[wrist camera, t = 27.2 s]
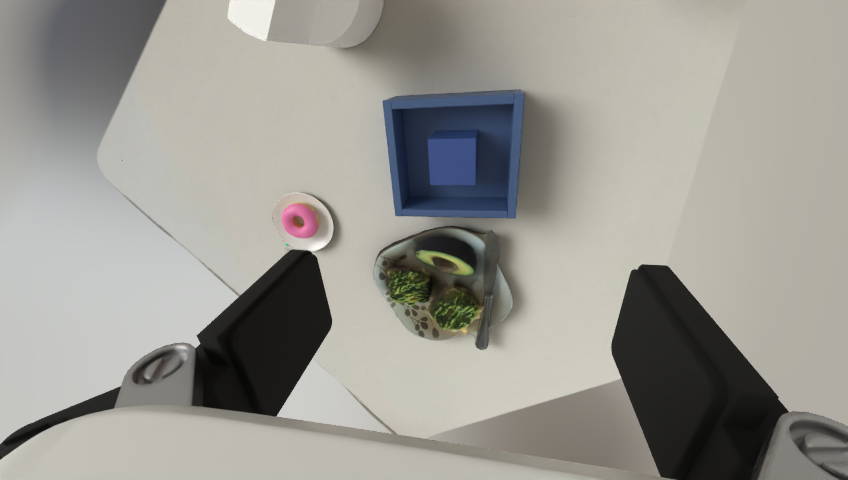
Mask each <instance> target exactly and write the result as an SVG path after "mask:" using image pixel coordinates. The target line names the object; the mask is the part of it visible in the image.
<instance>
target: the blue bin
mask: <svg viewBox="0 0 848 480" xmlns="http://www.w3.org/2000/svg"><path fill="white" fill-rule="evenodd" d="M383 108H384V117H385V126H386V135H387V144H388V153H389V162H390V171H391V180H392V189H393V198H394V207H395V216H426V217H477V218H516V205H517V191H518V177H519V163H520V149H521V135H522V121H523V108H524V93H523V92H522V91H521V90H502V91H483V92H464V93H446V94H427V95H408V96H395V97H392V98H390V99H387V100H384V101H383ZM447 130H478V174H477V180H476V185H430V172H429V154H428V139H429V138H430V137H431V135H432V134H433V133H434V132H435V131H447Z"/></svg>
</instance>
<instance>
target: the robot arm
mask: <svg viewBox="0 0 848 480" xmlns="http://www.w3.org/2000/svg"><path fill="white" fill-rule="evenodd" d="M331 326H332V317H331V313H330V309H329V305H328V301H327V297H326V293H325V289H324V284H323V280H322V276H321V272H320V268H319V264H318V260H317V257H316V256H315V255H313V254H312V253H311V251H309V250H290V251H289V252H288V253H287V254H285V255H284V256H283V257H282V258H281V259H280V260H279V261H278V262H277V263H276V264H275V265H273V266H272V267H271V268H270V269H269V270H268V271H267V272H266V273H265V274H264V275H263V276H261V277H260V278H259V279H258V280H257V281H256V282H255V283H254V284H253V285H252V286H250V287H249V288H248V289H247V290H246V291H245V292H244V293H243V294H242V295H241V296H240V297H238V298H237V299H236V300H235V301H234V302H233V303H232V304H231V305H230V306H229V307H228V308H226V309H225V310H224V311H223V312H222V313H221V314H220V315H219V316H218V317H217V318H215V319H214V320H213V321H212V322H211V323H210V324H209V325H208V326H207V327H206V328H205V329H203V331H201V332H200V333H199V334H198V335H197V337H198V339H199V341H200V343H201V344H200V345H199V346H198V347H197V348H194V347H193V346H192V345H191V344H188V343H174V344H171V345H166V346H163V347H161V348H159V349H156V350H154V351H152V352H151V353H149V354H147V355H145V356H144V357H142V358H141V359H140V360H139V361H137V362H136V363H135V364H134V365H133V366H132V367H131V368H130V369H129V370H128V371H127V373H126V375H125V377H124V379H123V382H122V386H121V387H118V388H116V389H113V390H111V391H108V392H106V393H104V394H101V395H98V396H96V397H94V398H91V399H89V400H86V401H84V402H82V403H79V404H76V405H74V406H71V407H69V408H67V409H64V410H62V411H59V412H57V413H55V414H52V415H50V416H47V417H45V418H42V419H40V420H38V421H36V422H34V423H31V424H28V425H26V426H24V427H22V428H20V429H19V430H17V431H15V432H14V433H12V434H11V435H10V436H9V437H7V438H6V439H5V440H4V441H3V442H2V443H1V444H0V480H848V427H847V426H845V425H844V424H842V423H839V422H836V421H834V420H832V419H829V418H826V417H824V416H820V415H816V414H812V413H808V412H794V411H792V412H788V410H787V409H786V408H785V407H784V406H783V404H782V403H781V402H780V401H779V400H778V396H777V395H776V393H775V392H774V391H773V390H772V389H771V387H770V386H769V385H768V384H767V383H766V382H765V380H764V379H763V378H762V377H761V376H760V375H759V373H758V372H757V371H756V370H755V369H754V368H753V366H752V365H751V364H750V363H749V362H748V360H747V359H746V358H745V357H744V356H743V354H742V353H741V352H740V351H739V350H738V349H737V347H736V346H735V345H734V344H733V342H732V341H731V340H730V339H729V338H728V337H727V336H726V334H725V333H724V332H723V331H722V329H721V328H720V327H719V326H718V325H717V324H716V322H715V321H714V320H713V319H712V318H711V317H710V315H709V314H708V313H707V312H706V311H705V309H704V308H703V307H702V306H701V305H700V303H699V302H698V301H697V300H696V299H695V297H694V296H693V295H692V294H691V293H690V292H689V291H688V289H687V288H686V287H685V286H684V285H683V283H682V282H681V281H680V280H679V279H678V277H677V276H676V275H675V274H674V273H673V272H672V270H671V269H670V268H669V267H668V266H665V265H641V266H640V267H639V268H638V270H635V269H634V270H632V271H631V274H630V277H629V281H628V284H627V288H626V292H625V295H624V299H623V303H622V307H621V310H620V314H619V318H618V321H617V325H616V329H615V333H614V336H613V340H612V346H611V348H612V355H613V358H614V360H615V363H616V365H617V368H618V370H619V373H620V375H621V378H622V380H623V383H624V386H625V388H626V391H627V393H628V396H629V398H630V401H631V403H632V406H633V408H634V411H635V413H636V416H637V418H638V421H639V423H640V426H641V428H642V430H643V433H644V436H645V438H646V441H647V443H648V446H649V448H650V451H651V453H652V456H653V458H654V461H655V463H656V466H657V468H658V471H659V474H660V476H661V477H657V476H651V475H646V474H640V473H635V472H629V471H623V470H617V469H612V468H606V467H599V466H594V465H587V464H581V463H575V462H568V461H562V460H556V459H549V458H543V457H536V456H531V455H524V454H518V453H512V452H505V451H499V450H493V449H486V448H480V447H473V446H467V445H460V444H454V443H448V442H441V441H435V440H428V439H422V438H415V437H409V436H402V435H396V434H389V433H382V432H376V431H369V430H363V429H356V428H350V427H343V426H336V425H329V424H322V423H315V422H309V421H302V420H295V419H288V418H282V417H276V416H277V414H278V413H279V411H280V410H281V408H282V406H283V405H284V403H285V402H286V400H287V398H288V397H289V395H290V393H291V392H292V390H293V389H294V387H295V385H296V384H297V382H298V381H299V379H300V377H301V376H302V374H303V372H304V371H305V369H306V368H307V366H308V364H309V363H310V361H311V360H312V358H313V356H314V355H315V353H316V352H317V350H318V348H319V347H320V345H321V343H322V342H323V340H324V339H325V337H326V335H327V334H328V332H329V331H330V329H331Z"/></svg>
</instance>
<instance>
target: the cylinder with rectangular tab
mask: <svg viewBox="0 0 848 480" xmlns="http://www.w3.org/2000/svg"><path fill="white" fill-rule="evenodd" d="M383 5H384V0H230V4H229V10H228V16H227V17H228V18H229V20H230V21H231V22H232V23H233V24H235V25H236V26H237V27H239V28H240V29H241V30H242V31H244V32H245V33H247V34H249V35H251V36H253V37H256V38H258V39H260V40H265V41H275V42H286V43H297V44H308V45H316V46H327V47H339V48H348V47H353V46H356V45H358V44H360V43H361V42H363V41H365V40H366V39H367V38H368V37H369V36H370V35H371V34H372V33H373V31H374V30H375V28H376V26H377V24H378V22H379V20H380V17H381V13H382V9H383Z"/></svg>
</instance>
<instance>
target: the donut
mask: <svg viewBox="0 0 848 480" xmlns="http://www.w3.org/2000/svg"><path fill="white" fill-rule="evenodd" d="M273 223H274V226H275V229H276V231H277V233H278V234H279V236H280V237H281V238H282V239H283V240H284V241H285V242H286V246H288V245H290V246H292V247H293V248H296V249H298V250H309V251H317V250H320V249H322V248H323V247H325V246H326V245H327V244H328V243H329V242H330V240H331V238H332V235H333V230H334V226H333V220H332V217H331V215H330V213H329V211H328V209H327V208H326V207H325V206H324V204H322V203H321V202H320V201H319V200H318V199H316V198H315V197H313V196H310V195H308V194H304V193H289V194H287V195H285V196H283V197H282V198H280V199H279V200H278V202H277V203H276V205H275V207H274V210H273ZM286 248H287V247H286ZM286 248H285V250H286ZM285 250H284V253H285ZM283 255H284V254H283Z"/></svg>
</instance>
